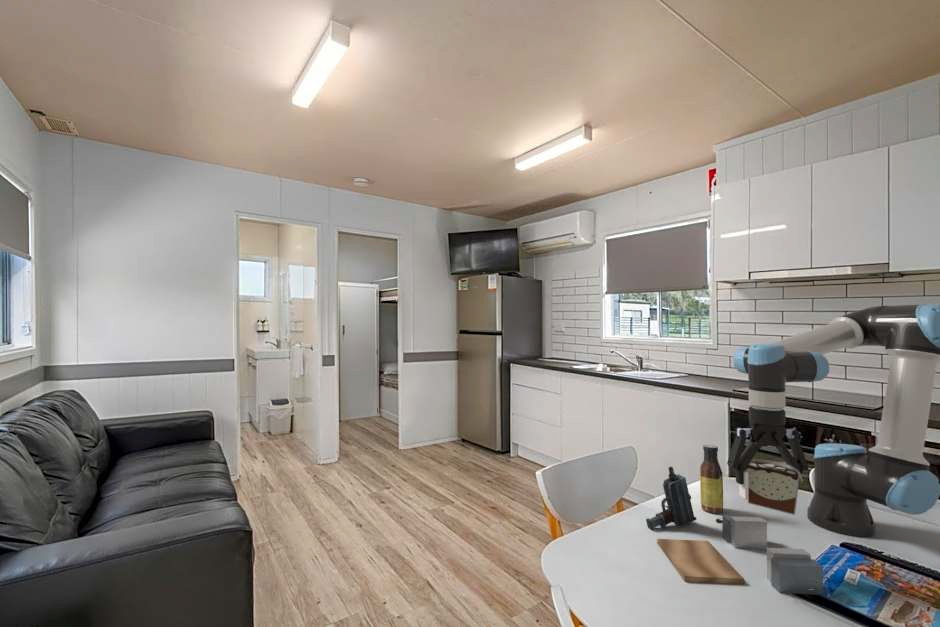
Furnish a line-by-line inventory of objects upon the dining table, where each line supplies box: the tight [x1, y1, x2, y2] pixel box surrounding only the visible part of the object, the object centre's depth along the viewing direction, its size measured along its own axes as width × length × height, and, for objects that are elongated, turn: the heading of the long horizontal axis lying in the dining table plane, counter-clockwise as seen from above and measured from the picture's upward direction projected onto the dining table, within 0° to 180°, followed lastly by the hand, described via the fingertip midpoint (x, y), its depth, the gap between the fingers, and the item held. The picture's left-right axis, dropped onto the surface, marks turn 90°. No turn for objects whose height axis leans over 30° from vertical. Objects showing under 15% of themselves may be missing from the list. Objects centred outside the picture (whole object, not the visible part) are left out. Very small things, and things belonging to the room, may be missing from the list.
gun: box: [645, 466, 697, 531], centre depth 126 cm, size 3×17×15 cm
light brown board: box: [656, 538, 745, 585], centre depth 107 cm, size 13×17×1 cm
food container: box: [745, 459, 804, 516], centre depth 107 cm, size 12×6×10 cm, turn 45°
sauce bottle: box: [699, 444, 724, 514], centre depth 137 cm, size 7×6×20 cm
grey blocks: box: [715, 514, 824, 596], centre depth 109 cm, size 9×28×7 cm, turn 176°
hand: (767, 497), depth 108 cm, fingers closed on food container, 10 cm apart
